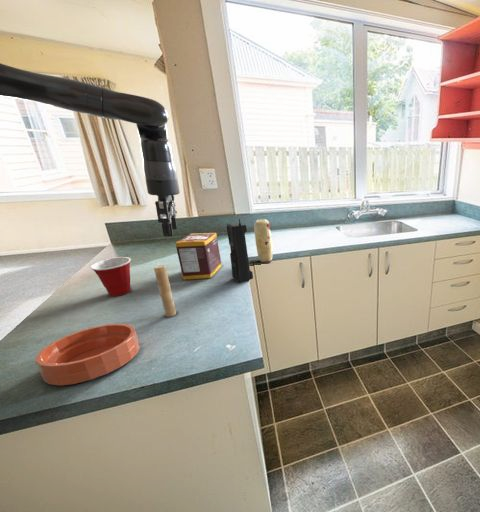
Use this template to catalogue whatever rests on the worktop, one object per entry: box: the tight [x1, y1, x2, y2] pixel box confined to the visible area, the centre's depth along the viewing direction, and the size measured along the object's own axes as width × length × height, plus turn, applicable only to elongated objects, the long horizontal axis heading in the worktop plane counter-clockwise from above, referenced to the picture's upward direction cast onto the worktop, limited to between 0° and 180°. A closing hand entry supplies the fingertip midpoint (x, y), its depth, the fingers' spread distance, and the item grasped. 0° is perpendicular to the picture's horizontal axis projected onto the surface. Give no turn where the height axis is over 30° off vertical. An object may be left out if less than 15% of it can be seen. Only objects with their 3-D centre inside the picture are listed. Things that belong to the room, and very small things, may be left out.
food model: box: [253, 218, 273, 263], centre depth 140 cm, size 10×7×20 cm
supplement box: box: [174, 232, 223, 281], centre depth 124 cm, size 10×15×16 cm
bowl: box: [34, 323, 141, 386], centre depth 70 cm, size 17×17×6 cm
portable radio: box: [226, 218, 254, 283], centre depth 117 cm, size 8×6×25 cm
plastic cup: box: [89, 256, 132, 297], centre depth 105 cm, size 11×11×12 cm
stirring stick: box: [153, 264, 177, 318], centre depth 90 cm, size 3×3×16 cm
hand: (170, 232), depth 89 cm, fingers open, 8 cm apart
